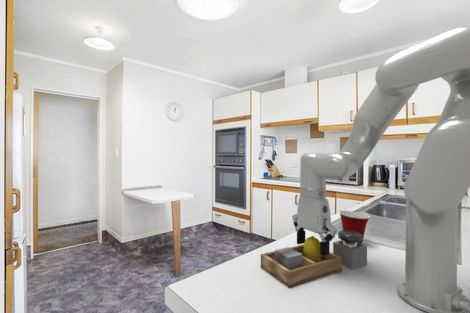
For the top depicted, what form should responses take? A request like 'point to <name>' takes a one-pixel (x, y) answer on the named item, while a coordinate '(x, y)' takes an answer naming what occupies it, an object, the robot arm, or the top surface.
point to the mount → (351, 254)
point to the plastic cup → (354, 221)
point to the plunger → (350, 238)
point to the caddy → (298, 265)
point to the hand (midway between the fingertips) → (312, 248)
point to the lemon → (312, 248)
